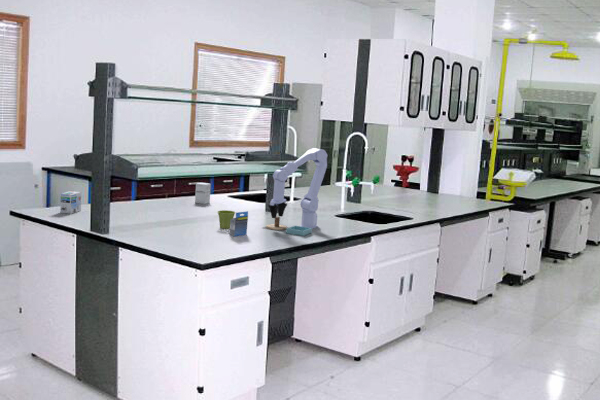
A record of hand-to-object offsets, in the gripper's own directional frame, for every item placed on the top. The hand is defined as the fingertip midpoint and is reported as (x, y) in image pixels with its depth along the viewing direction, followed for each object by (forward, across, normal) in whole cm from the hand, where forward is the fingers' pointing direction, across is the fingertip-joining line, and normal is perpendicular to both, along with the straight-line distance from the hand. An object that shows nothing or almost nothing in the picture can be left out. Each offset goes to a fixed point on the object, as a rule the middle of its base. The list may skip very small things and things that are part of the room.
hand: (277, 217), depth 351 cm
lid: (+6, 0, 0) cm, 6 cm away
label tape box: (+7, +28, -7) cm, 30 cm away
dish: (+6, +3, +15) cm, 17 cm away
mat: (+6, 0, 0) cm, 6 cm away
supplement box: (+7, -37, -74) cm, 83 cm away
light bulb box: (+7, +43, -106) cm, 114 cm away
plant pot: (+7, +18, -21) cm, 28 cm away
